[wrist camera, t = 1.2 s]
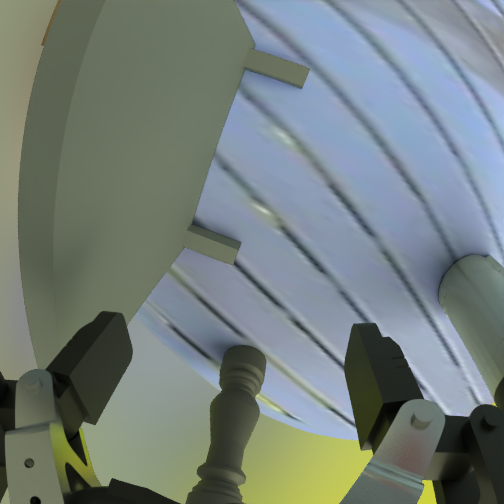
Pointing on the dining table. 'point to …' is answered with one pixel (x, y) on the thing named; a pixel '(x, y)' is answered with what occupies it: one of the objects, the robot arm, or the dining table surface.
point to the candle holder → (230, 427)
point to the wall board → (124, 152)
